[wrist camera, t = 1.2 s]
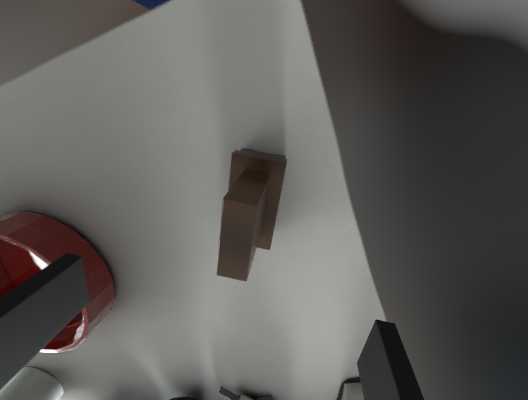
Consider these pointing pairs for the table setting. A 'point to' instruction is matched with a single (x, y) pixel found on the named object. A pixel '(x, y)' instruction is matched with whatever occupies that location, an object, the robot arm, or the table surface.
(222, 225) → the brown block stand
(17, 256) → the bowl
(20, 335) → the robot arm
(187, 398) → the toy
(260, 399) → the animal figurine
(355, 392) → the decorative ornament
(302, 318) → the table surface
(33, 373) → the cup
